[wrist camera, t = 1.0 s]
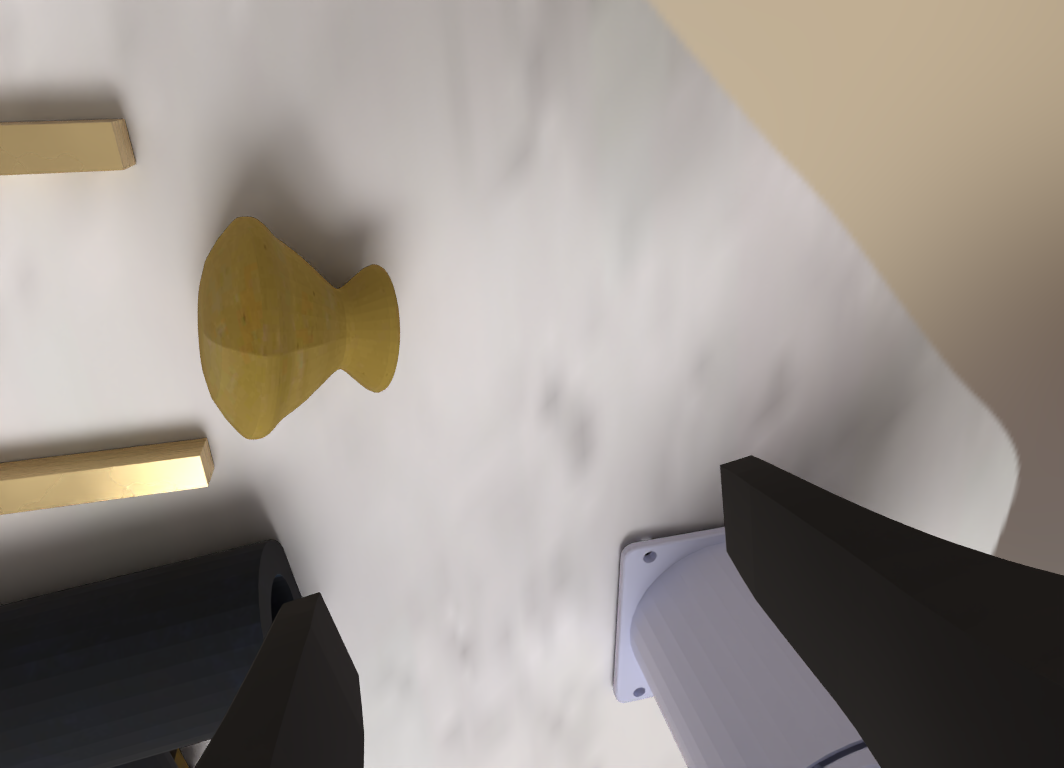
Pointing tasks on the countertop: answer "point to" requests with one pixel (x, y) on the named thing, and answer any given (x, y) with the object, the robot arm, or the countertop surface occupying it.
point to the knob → (286, 328)
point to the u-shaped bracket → (107, 470)
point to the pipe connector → (135, 660)
